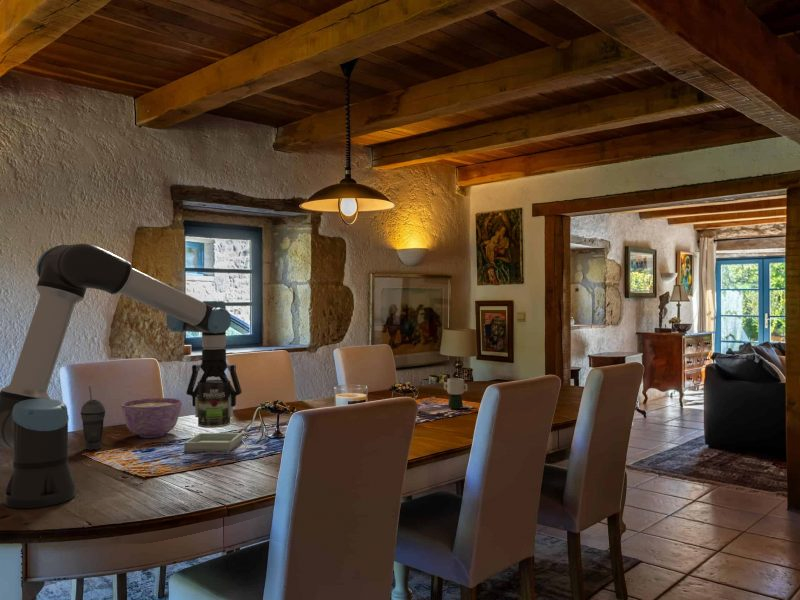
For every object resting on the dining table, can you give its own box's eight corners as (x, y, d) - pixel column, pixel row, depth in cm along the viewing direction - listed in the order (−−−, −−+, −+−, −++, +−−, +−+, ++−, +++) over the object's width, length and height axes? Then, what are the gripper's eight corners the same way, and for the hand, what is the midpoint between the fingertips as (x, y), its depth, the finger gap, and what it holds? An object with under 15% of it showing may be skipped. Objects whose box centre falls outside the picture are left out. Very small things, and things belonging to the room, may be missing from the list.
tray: (230, 451, 205) (230, 443, 205) (184, 451, 206) (184, 442, 206) (242, 441, 220) (242, 433, 220) (199, 441, 220) (199, 433, 220)
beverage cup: (95, 451, 206) (95, 388, 206) (75, 450, 207) (75, 387, 207) (110, 446, 213) (110, 384, 213) (90, 445, 214) (90, 384, 214)
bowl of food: (108, 439, 222) (108, 405, 222) (144, 428, 242) (144, 397, 242) (160, 443, 218) (160, 408, 218) (193, 431, 237) (193, 399, 237)
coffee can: (231, 427, 209) (230, 383, 209) (197, 428, 206) (197, 384, 206) (230, 421, 219) (230, 378, 219) (198, 422, 216) (198, 380, 216)
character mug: (470, 408, 284) (470, 378, 284) (464, 411, 278) (464, 380, 278) (446, 406, 289) (446, 377, 289) (440, 409, 283) (440, 379, 283)
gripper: (251, 347, 216) (251, 414, 216) (183, 347, 217) (183, 414, 217) (245, 349, 209) (246, 418, 209) (175, 349, 209) (175, 418, 209)
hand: (214, 416), depth 213 cm, fingers closed on coffee can, 10 cm apart
